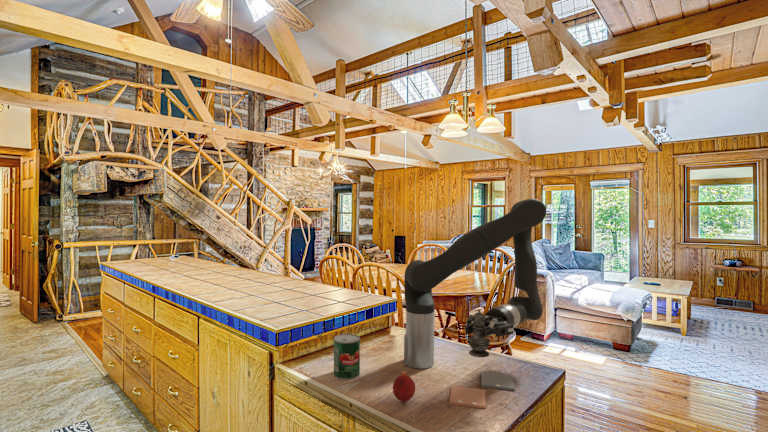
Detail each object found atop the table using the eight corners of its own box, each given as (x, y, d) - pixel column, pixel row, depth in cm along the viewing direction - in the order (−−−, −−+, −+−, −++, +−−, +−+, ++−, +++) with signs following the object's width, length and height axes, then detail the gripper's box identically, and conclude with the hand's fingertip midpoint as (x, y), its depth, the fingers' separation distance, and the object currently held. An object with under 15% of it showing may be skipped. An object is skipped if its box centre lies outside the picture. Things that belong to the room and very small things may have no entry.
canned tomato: (345, 366, 121) (345, 332, 121) (365, 373, 116) (365, 337, 116) (328, 375, 115) (328, 338, 114) (348, 382, 110) (348, 344, 110)
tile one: (481, 386, 108) (481, 384, 108) (481, 373, 117) (481, 371, 117) (514, 390, 106) (514, 388, 106) (512, 377, 115) (512, 375, 115)
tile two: (449, 403, 99) (449, 401, 99) (452, 387, 107) (452, 385, 107) (485, 408, 96) (485, 406, 96) (485, 392, 105) (485, 389, 105)
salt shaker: (484, 359, 99) (484, 313, 99) (463, 354, 103) (464, 309, 103) (493, 353, 104) (494, 309, 104) (473, 347, 108) (474, 305, 107)
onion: (408, 410, 95) (408, 378, 95) (388, 404, 98) (388, 373, 98) (418, 400, 100) (419, 370, 100) (399, 394, 103) (400, 365, 103)
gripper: (481, 301, 119) (451, 313, 106) (526, 310, 109) (499, 323, 96) (481, 325, 119) (450, 339, 106) (526, 336, 109) (498, 353, 96)
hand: (474, 332), depth 101 cm, fingers closed on salt shaker, 3 cm apart
